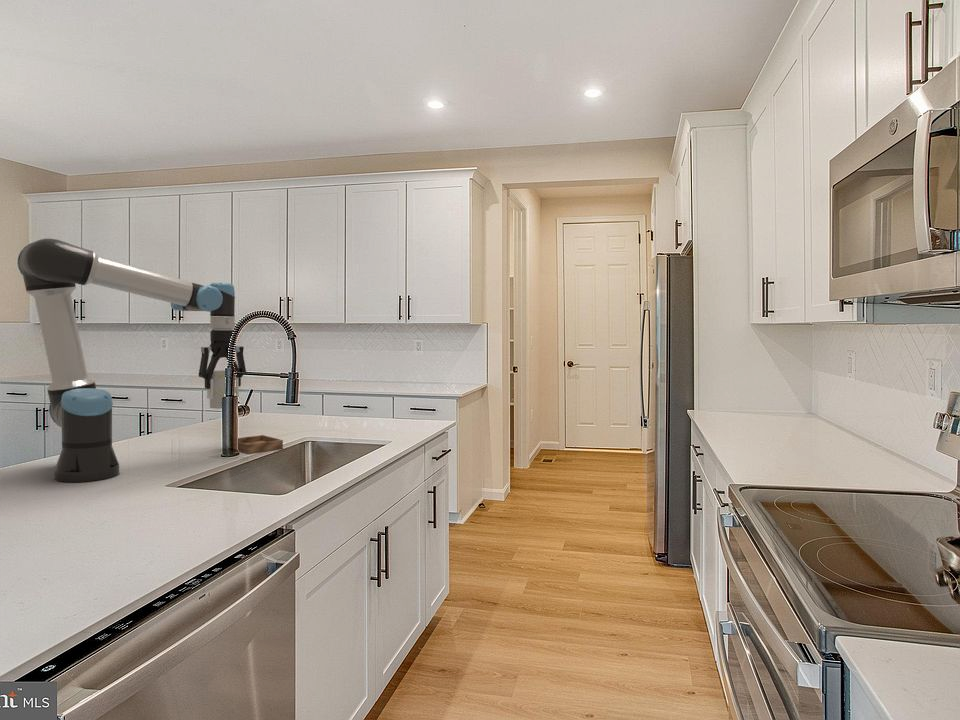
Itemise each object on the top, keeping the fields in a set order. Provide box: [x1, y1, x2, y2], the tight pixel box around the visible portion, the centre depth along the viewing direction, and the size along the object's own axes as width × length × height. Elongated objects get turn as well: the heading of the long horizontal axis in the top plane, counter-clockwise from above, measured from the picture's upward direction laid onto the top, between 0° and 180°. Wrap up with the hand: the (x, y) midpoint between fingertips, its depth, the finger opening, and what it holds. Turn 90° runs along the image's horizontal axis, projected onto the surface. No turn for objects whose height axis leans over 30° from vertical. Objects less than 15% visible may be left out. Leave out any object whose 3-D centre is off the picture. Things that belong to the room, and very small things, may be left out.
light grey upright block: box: [209, 369, 236, 410], centre depth 207 cm, size 8×8×12 cm
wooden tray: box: [237, 434, 284, 455], centre depth 212 cm, size 13×13×3 cm
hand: (223, 397), depth 207 cm, fingers closed on light grey upright block, 8 cm apart
